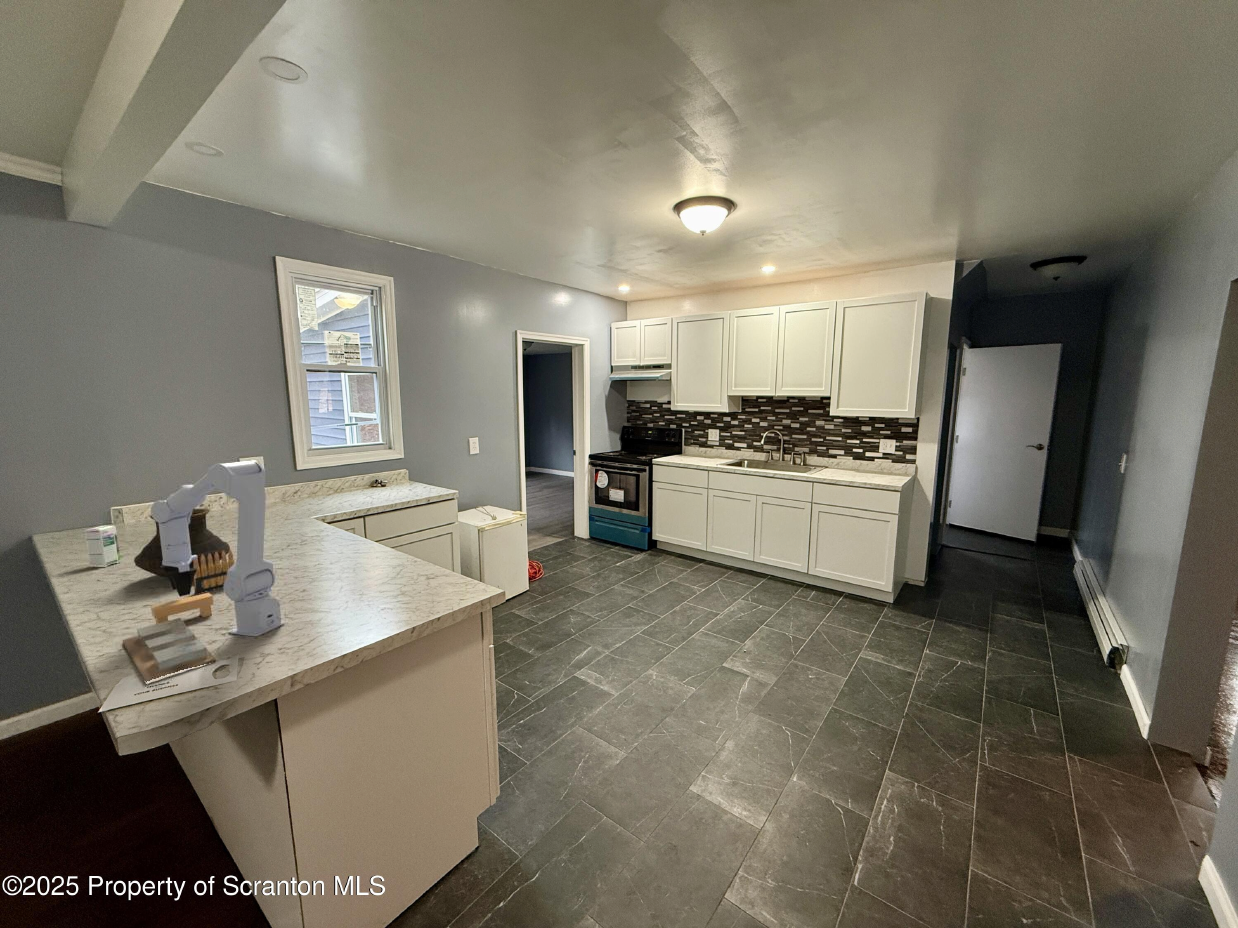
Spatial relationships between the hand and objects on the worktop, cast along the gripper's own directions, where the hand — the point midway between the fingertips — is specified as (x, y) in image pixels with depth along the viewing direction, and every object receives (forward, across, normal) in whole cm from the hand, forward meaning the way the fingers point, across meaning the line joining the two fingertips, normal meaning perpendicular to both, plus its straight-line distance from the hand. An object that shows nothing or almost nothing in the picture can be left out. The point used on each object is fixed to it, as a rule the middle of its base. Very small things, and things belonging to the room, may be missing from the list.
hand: (181, 591), depth 131 cm
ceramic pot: (+8, +47, -9) cm, 49 cm away
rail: (+8, -20, +6) cm, 22 cm away
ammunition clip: (+8, +23, -12) cm, 27 cm away
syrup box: (+9, +87, +6) cm, 88 cm away
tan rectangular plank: (+8, 0, 0) cm, 8 cm away
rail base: (+8, -20, +6) cm, 22 cm away
